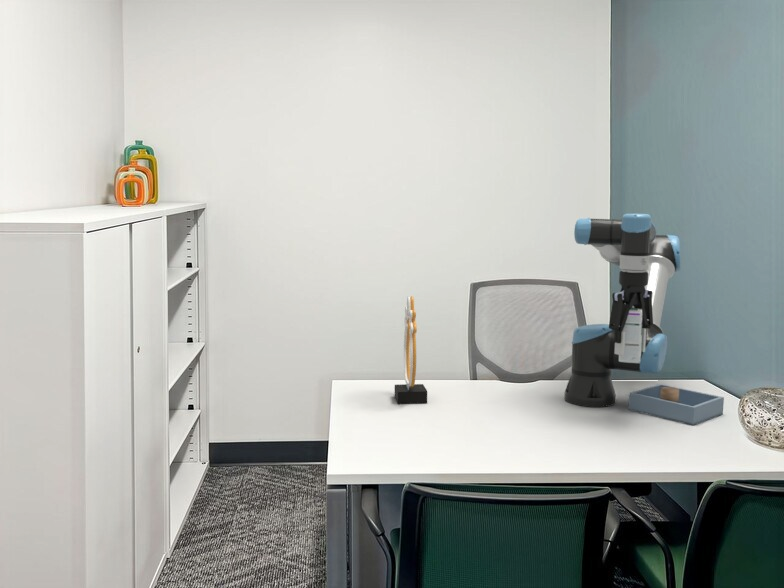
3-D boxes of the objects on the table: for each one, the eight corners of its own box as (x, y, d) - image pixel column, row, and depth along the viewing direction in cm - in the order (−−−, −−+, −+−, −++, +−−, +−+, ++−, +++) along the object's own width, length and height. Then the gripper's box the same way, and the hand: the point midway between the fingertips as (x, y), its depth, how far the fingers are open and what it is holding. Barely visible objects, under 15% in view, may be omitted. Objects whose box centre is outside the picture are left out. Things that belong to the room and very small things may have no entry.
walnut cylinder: (655, 412, 221) (657, 388, 220) (665, 409, 224) (666, 385, 223) (671, 416, 217) (673, 392, 216) (681, 413, 221) (682, 389, 220)
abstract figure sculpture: (429, 407, 226) (430, 300, 222) (399, 407, 225) (400, 300, 221) (421, 392, 243) (422, 292, 238) (393, 393, 242) (394, 292, 238)
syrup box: (640, 363, 210) (642, 311, 208) (617, 361, 212) (620, 309, 210) (641, 359, 215) (643, 307, 213) (618, 357, 217) (621, 306, 215)
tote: (628, 409, 226) (629, 392, 225) (659, 399, 237) (660, 383, 236) (693, 425, 211) (694, 407, 210) (722, 414, 222) (723, 397, 221)
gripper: (618, 274, 201) (614, 359, 204) (670, 269, 212) (665, 351, 215) (596, 271, 207) (593, 354, 211) (647, 267, 219) (643, 346, 222)
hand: (629, 352), depth 213 cm, fingers closed on syrup box, 8 cm apart
